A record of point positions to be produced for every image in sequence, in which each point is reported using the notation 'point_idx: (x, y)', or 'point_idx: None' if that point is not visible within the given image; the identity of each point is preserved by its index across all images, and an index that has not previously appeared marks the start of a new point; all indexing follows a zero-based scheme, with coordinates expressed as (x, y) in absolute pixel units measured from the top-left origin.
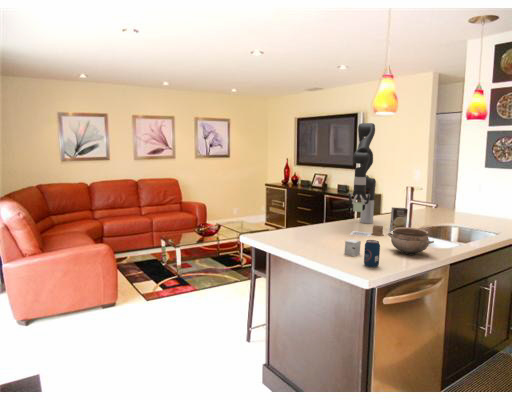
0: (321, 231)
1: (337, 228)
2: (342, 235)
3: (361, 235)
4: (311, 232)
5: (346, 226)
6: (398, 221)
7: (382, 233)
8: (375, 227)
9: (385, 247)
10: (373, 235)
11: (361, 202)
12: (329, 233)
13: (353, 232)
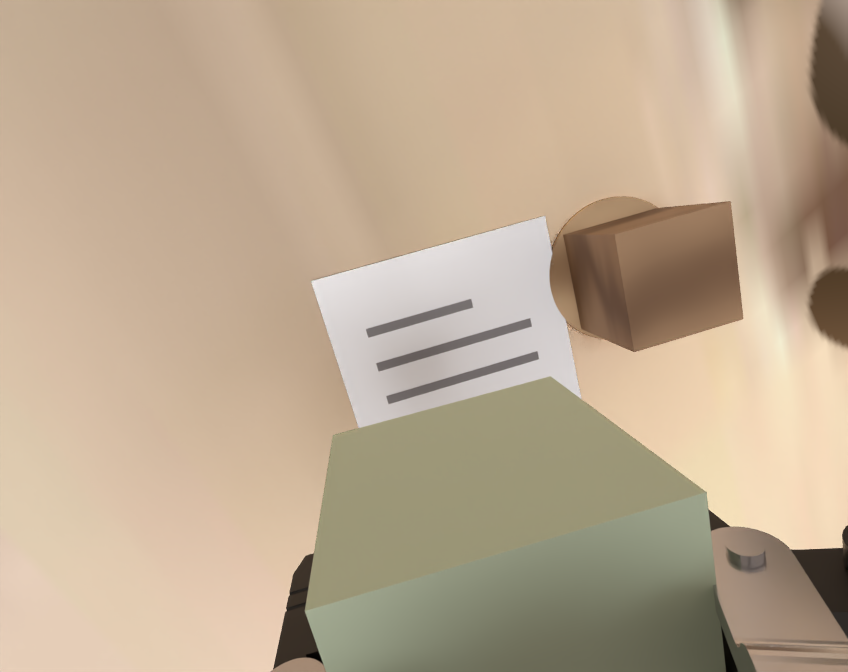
0: (48, 552)
1: (66, 259)
2: None
3: None
4: (7, 666)
5: (64, 21)
6: None
7: (662, 208)
8: (661, 341)
9: None
10: (595, 337)
11: (621, 584)
12: (180, 567)
13: (363, 357)
